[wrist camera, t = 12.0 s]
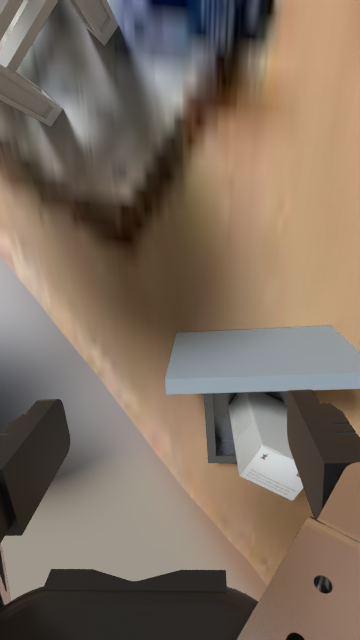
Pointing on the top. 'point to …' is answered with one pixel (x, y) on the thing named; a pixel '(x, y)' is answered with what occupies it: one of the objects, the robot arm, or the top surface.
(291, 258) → the top surface
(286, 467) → the skincare box
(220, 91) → the top surface
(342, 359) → the backboard
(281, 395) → the grey open tray
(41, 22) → the stool
